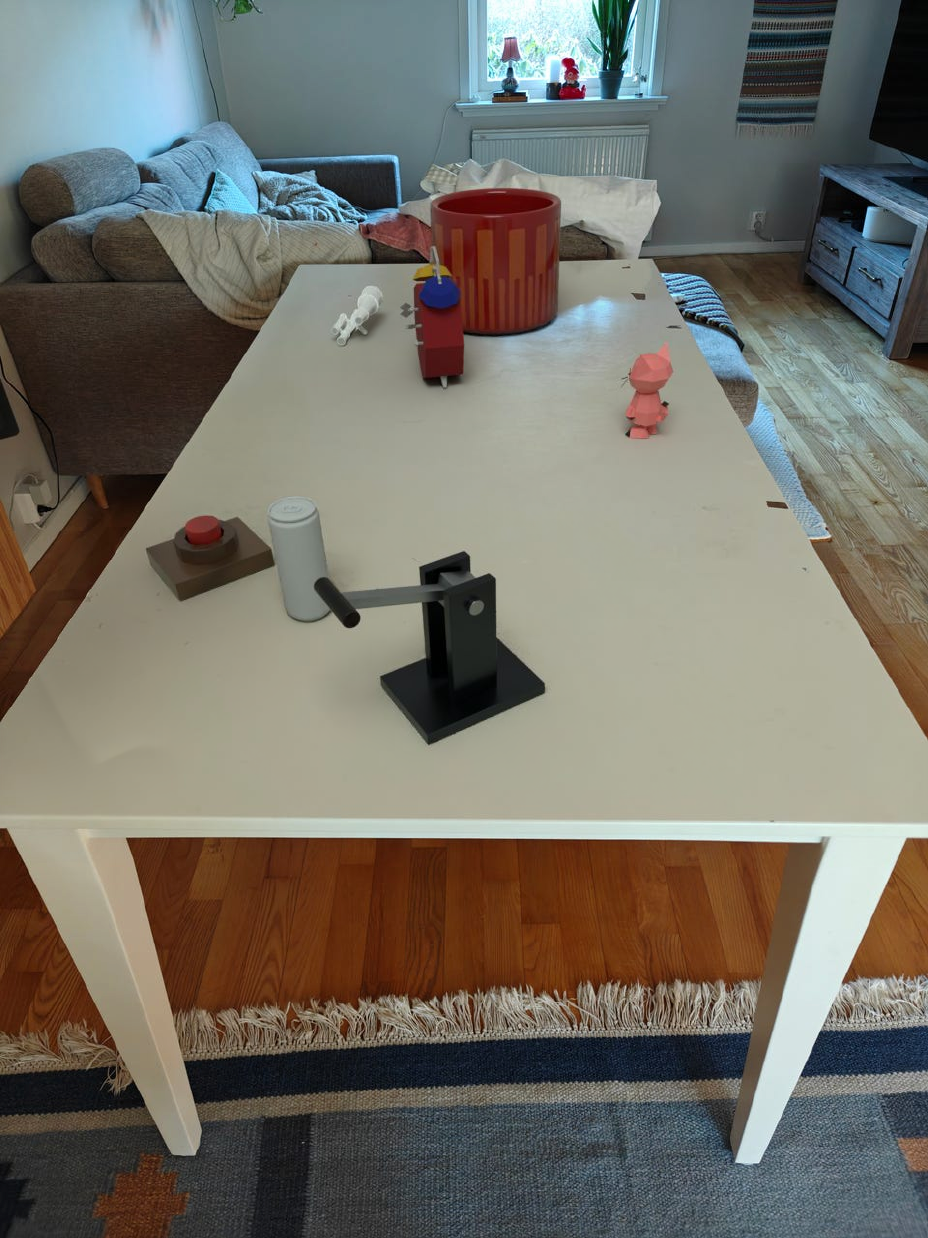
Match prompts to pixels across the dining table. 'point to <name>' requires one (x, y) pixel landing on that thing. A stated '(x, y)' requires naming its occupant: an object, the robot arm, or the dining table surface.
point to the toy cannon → (359, 313)
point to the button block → (209, 559)
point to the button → (203, 530)
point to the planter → (500, 256)
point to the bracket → (460, 660)
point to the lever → (383, 596)
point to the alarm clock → (437, 322)
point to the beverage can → (299, 555)
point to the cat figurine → (648, 392)
